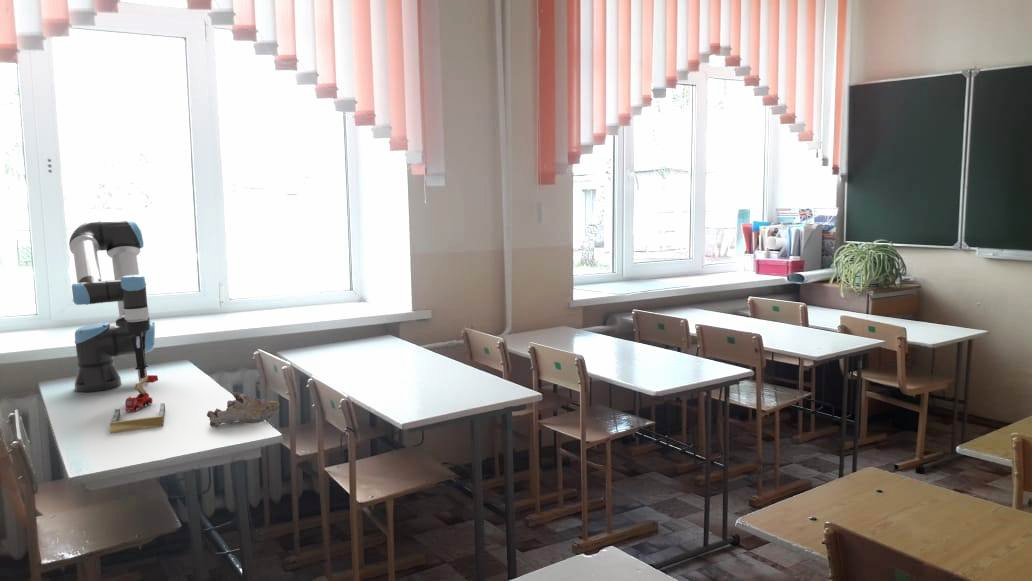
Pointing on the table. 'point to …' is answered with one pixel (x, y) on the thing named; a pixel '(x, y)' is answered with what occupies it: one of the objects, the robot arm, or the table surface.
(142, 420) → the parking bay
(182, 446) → the table surface
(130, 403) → the toy fire truck
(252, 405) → the mineral specimen
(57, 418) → the table surface
